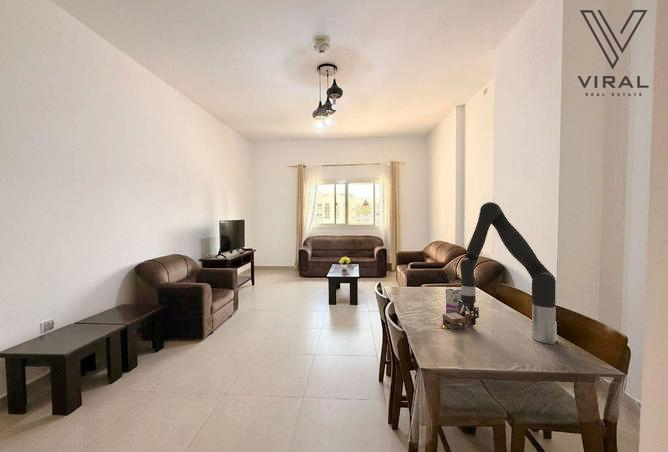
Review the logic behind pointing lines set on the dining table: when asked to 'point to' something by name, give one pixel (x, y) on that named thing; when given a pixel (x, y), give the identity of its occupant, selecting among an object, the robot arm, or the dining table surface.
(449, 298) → the candy bar box
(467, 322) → the brown l-shaped stand
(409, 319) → the dining table surface
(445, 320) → the walnut cabinet
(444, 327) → the brass token
